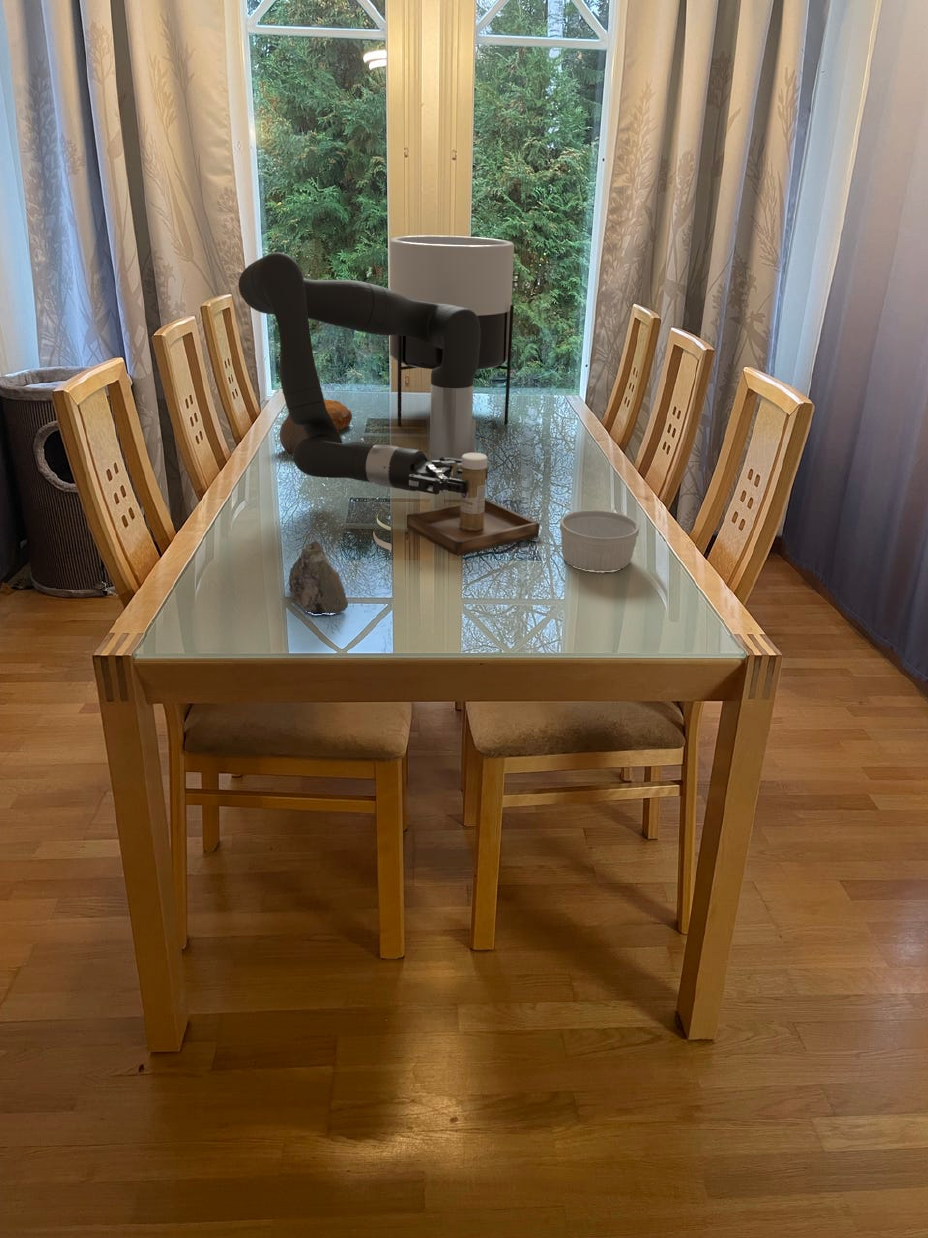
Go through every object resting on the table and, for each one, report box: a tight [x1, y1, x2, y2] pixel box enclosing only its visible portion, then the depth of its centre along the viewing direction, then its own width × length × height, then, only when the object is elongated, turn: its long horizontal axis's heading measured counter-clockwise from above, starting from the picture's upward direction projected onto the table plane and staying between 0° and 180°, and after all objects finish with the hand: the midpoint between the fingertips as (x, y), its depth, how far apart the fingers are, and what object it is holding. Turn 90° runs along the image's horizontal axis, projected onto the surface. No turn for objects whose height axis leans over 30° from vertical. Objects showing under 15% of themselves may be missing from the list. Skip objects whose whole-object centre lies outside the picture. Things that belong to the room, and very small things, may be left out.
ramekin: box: [559, 509, 640, 571], centre depth 156 cm, size 13×13×7 cm
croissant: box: [324, 399, 353, 432], centre depth 228 cm, size 14×16×8 cm
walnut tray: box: [406, 497, 540, 557], centre depth 167 cm, size 18×16×2 cm
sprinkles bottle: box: [459, 452, 488, 531], centre depth 165 cm, size 5×5×13 cm
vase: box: [279, 413, 308, 454], centre depth 208 cm, size 7×7×9 cm
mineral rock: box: [288, 540, 349, 615], centre depth 138 cm, size 13×11×10 cm
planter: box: [389, 235, 515, 427], centre depth 232 cm, size 31×31×43 cm
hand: (477, 480), depth 163 cm, fingers open, 8 cm apart
